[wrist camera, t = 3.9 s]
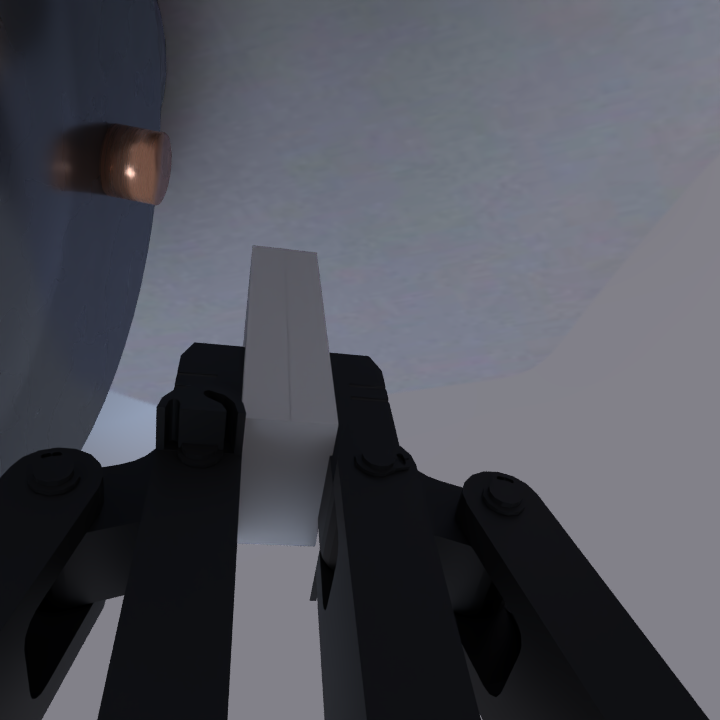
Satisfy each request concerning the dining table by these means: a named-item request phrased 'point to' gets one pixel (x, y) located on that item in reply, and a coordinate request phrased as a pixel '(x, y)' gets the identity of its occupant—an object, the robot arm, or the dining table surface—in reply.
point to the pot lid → (72, 207)
